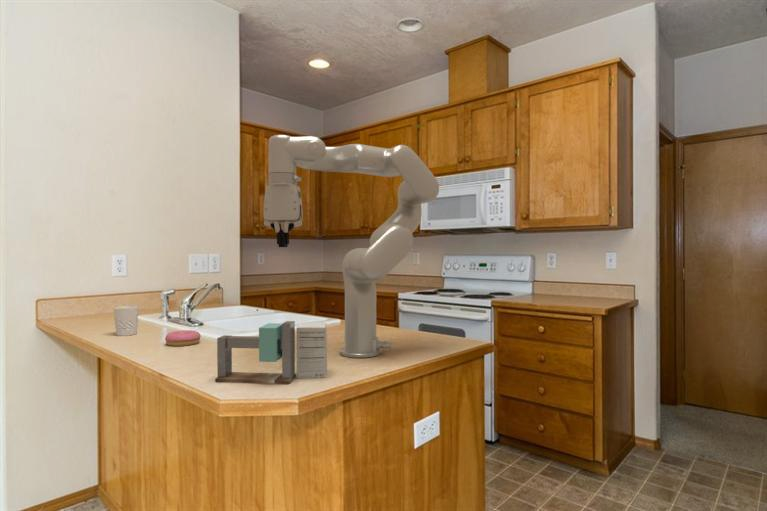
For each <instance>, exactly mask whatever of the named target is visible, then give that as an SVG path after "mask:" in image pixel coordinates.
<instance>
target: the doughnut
mask: <svg viewBox="0 0 767 511" xmlns="http://www.w3.org/2000/svg"><path fill="white" fill-rule="evenodd" d="M164 340H165V344H166V345H168V346H169V347H188V346H194V345H196V344H198V343H199V342H200V340H201V334H200V333H199V332H198V331H197V330H189V329H188V330H186V329H184V330H182V329H181V330H175V331H171V332H169V333H168V334H166V335H165V339H164Z"/></svg>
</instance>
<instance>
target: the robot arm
mask: <svg viewBox="0 0 767 511" xmlns="http://www.w3.org/2000/svg"><path fill="white" fill-rule="evenodd" d="M297 167H298V168H301V169H304V170H311V171H317V172H318V171H319V172H333V173H352V174H354V173H355V174H363V175H369V176H370V175H371V176H376V177H377V176H379V177H384V178H393V177H394V178H395V177H398V176H400V177H401V178H402V179H403V181H402V182H401V183H400V184H399V186H398V189H397V198H398V199H397V200H398V204H397V205H398V206H397V208H396V210H395V211H394V213H392V214H391V216H390V217H388V218H387V220H385V221H384V222H383V223H382V224H380V226H379V227H378V228H376V229H375V230H374V231H372V233H371V236H370V238H369V247H367V248H366V247H358V248H354V249H350V251H348V252H347V253H346V254H345V256H344V258H343V260H342V265H341V266H342V267H341V268H342V276H343V285H344V346H343V347H341V348H340V349H339V354H340V355H341V356H343V357H348V358H359V359H361V358H372V357H377V356H379V355H382V349H389V350H390V349H392V342H391V341H388V340H386V341H385V340H384V341H383V340H379V336H377V301H378V300H377V287H376V286H377V285H376V282H378V281H380V280H382V279H384V278H385V277H386V276H387V275H388V274H389V273H390V272H392V271H393V270H394V268H395V267H397V266H398V264H400V263H401V262H402V261H403V260H404V259H405V258H406V257H407V255H408V254H409V253H410V251H411V250H412V248H413V244H414V235H413V233H414V232H415V230H416V229H417V228H418V227H419V226H420V224H421V221H422V209H423V208H422V204H428V203H430V202H433V201H434V200H436V198H437V197H438V195H439V193H440V185H439V181H438V179H437V178H436V176H435V175H434V174H433V172H432V171H431V170H430V169H429V168H428V167H427V165H426V164H425V162H424V161H423V160H422V159H421V157H419V155H418V154H417V153H416V152H415V151H414V150H413V149H412V148H410V147H409V146H407V145H405V144H399V145H395V146H393V147H391V148H386V147H378V146H373V145H366V144H361V143H350V144H345V145H340V146H326V144H325V142H324V141H323V139H320V137H318V136H313V135H306V136H305V135H304V136H291V135H287V134H274V135H272V136H270V137H269V139H268V185H266V187H265V191H264V192H265V193H264V200H263V219H264V221H263V226H266V227H269V228H272V229H273V230H274V231H275V233H276V244H277V245H278V248H288V245H289V244H290V233H291V231H293V229H294V228H296V227H301V226H303V202H302V201H303V200H302V194H301V193H302V192H301V187H300V186H299V185H298V183H299V182H302V177H301V176H298V175H297ZM282 223H283V225H282Z"/></svg>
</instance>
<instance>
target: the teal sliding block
mask: <svg viewBox="0 0 767 511" xmlns="http://www.w3.org/2000/svg"><path fill="white" fill-rule="evenodd" d="M258 337H259V349H258V362H262V363H263V362H264V363H276V362H278V361H279V360H280V359H282V349H277V340H278V339H280V338H281V337H282V323H271V322H270V323H267V324H265V325H262V326H260V327H259V328H258Z"/></svg>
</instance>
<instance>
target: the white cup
mask: <svg viewBox="0 0 767 511" xmlns="http://www.w3.org/2000/svg"><path fill="white" fill-rule="evenodd" d="M113 312H114V313H113V314H114V325H115V326H114V328H115V335H116V336H118V337H127V336H128V337H129V336H134V335H137V334H138V326H139V325H138V323H139V306H138V305H124V306H115V307H113Z"/></svg>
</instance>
